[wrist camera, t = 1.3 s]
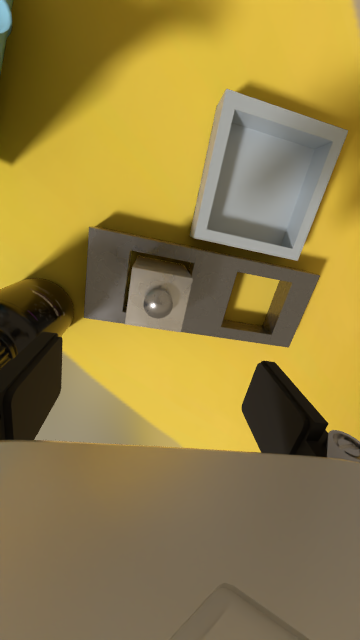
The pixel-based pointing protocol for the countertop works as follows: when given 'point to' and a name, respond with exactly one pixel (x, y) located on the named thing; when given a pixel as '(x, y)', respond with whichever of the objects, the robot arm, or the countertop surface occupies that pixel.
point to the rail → (195, 287)
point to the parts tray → (263, 176)
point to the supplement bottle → (31, 314)
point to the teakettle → (5, 25)
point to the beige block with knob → (158, 294)
